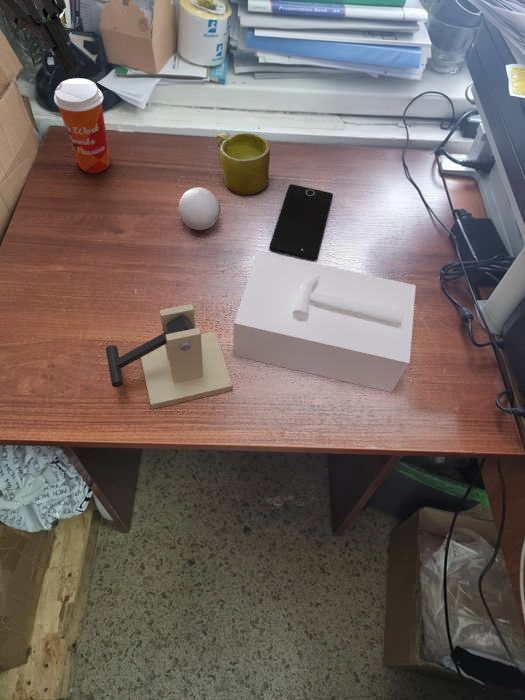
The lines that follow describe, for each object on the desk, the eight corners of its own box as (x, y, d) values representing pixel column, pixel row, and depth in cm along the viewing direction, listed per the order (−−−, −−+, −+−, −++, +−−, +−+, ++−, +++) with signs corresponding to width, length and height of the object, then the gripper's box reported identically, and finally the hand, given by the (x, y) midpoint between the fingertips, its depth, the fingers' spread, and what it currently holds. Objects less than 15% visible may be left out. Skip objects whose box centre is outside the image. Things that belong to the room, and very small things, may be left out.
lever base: (151, 409, 73) (140, 363, 62) (139, 352, 78) (127, 300, 67) (232, 390, 75) (234, 343, 64) (215, 336, 80) (215, 284, 69)
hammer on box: (254, 285, 86) (258, 239, 77) (398, 318, 85) (420, 275, 76) (232, 355, 78) (234, 313, 69) (391, 392, 77) (415, 354, 68)
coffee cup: (66, 172, 98) (44, 98, 85) (81, 146, 102) (62, 73, 90) (108, 179, 98) (92, 107, 85) (121, 153, 102) (108, 80, 90)
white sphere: (213, 242, 91) (212, 211, 85) (173, 233, 92) (170, 201, 85) (229, 206, 96) (230, 174, 90) (192, 197, 97) (190, 165, 91)
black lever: (118, 389, 69) (107, 384, 67) (112, 353, 72) (101, 347, 70) (199, 346, 66) (189, 339, 64) (189, 310, 69) (179, 303, 67)
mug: (288, 181, 98) (273, 137, 90) (244, 210, 98) (226, 168, 90) (258, 155, 106) (242, 113, 98) (217, 182, 105) (198, 141, 97)
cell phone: (332, 196, 100) (333, 192, 99) (316, 262, 90) (317, 258, 89) (289, 187, 100) (289, 183, 100) (268, 250, 91) (268, 247, 90)
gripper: (9, -100, 74) (101, 65, 82) (-79, -81, 68) (30, 94, 77) (17, -138, 67) (116, 45, 76) (-79, -120, 62) (39, 75, 70)
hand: (73, 69), depth 76 cm, fingers closed
